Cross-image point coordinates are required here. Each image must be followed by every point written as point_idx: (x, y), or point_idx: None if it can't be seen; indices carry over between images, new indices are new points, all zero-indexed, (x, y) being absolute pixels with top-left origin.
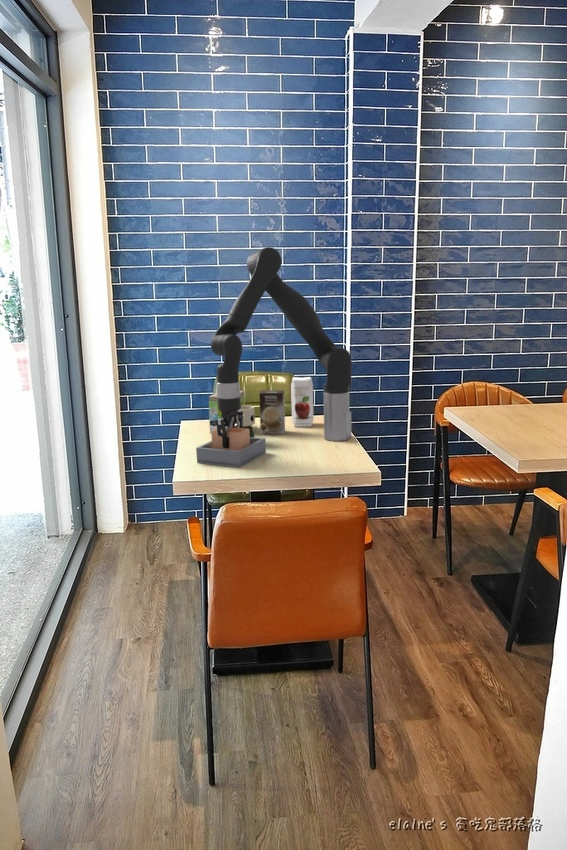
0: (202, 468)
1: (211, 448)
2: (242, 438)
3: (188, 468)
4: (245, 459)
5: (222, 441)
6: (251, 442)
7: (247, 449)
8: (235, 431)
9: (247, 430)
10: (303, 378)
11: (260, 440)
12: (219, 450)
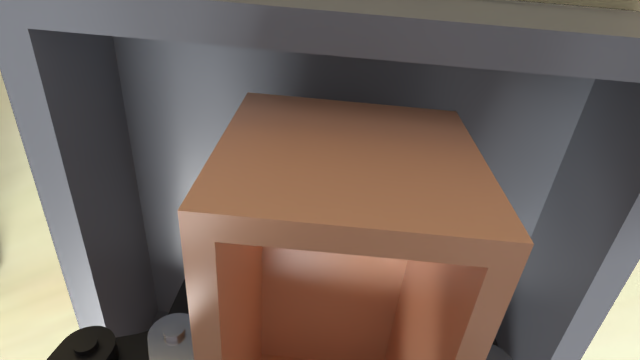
0: (634, 274)
1: (551, 356)
2: (444, 175)
3: (626, 341)
4: (539, 9)
5: None
6: (91, 142)
7: (520, 22)
8: (233, 351)
9: (258, 209)
10: None
11: (101, 3)
12: (623, 282)
